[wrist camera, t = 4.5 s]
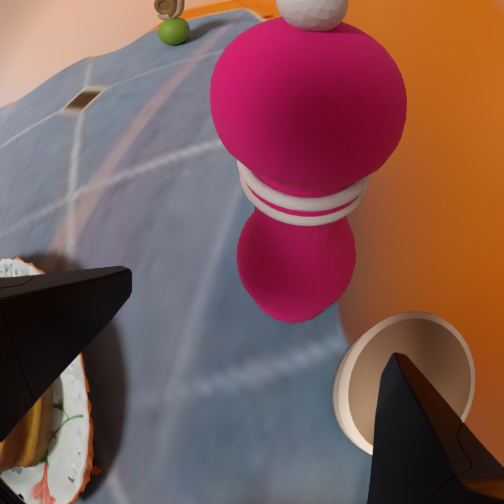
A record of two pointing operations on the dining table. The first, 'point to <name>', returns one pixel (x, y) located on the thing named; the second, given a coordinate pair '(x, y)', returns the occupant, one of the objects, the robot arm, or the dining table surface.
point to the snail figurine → (171, 21)
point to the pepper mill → (304, 147)
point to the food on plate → (51, 432)
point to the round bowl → (418, 351)
